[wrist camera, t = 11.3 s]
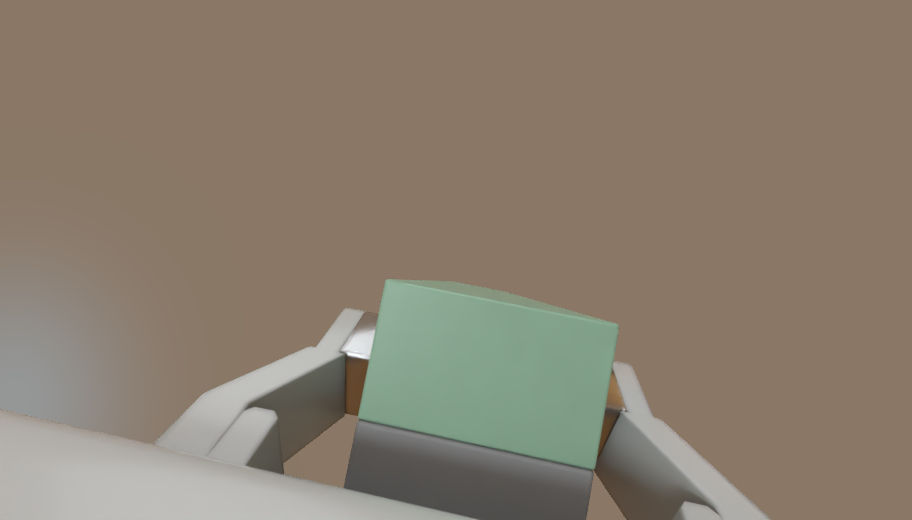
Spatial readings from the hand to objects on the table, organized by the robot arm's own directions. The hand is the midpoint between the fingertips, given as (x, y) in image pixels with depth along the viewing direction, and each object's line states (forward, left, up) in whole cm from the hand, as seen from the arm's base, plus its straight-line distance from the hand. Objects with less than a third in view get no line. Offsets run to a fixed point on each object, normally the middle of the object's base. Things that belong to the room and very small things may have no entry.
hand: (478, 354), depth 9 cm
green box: (-1, -8, -2) cm, 8 cm away
